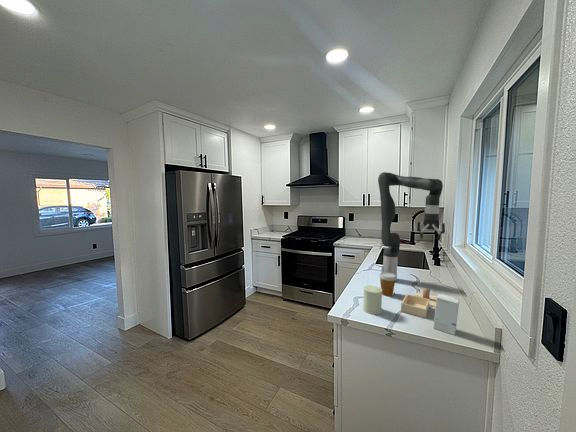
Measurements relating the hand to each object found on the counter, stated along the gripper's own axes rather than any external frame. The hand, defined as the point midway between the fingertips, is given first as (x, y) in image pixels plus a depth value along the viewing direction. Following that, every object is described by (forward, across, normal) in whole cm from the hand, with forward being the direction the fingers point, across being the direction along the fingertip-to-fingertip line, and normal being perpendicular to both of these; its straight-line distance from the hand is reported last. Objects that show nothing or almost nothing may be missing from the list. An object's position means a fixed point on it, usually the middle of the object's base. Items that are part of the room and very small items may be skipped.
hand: (430, 239), depth 143 cm
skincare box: (+33, +12, -41) cm, 54 cm away
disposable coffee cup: (+33, -19, -18) cm, 42 cm away
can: (+33, -20, -43) cm, 58 cm away
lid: (+34, +1, -12) cm, 36 cm away
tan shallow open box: (+33, -2, -29) cm, 44 cm away
